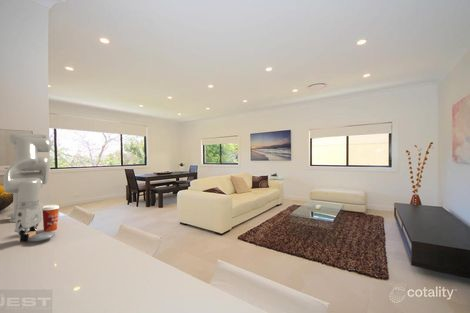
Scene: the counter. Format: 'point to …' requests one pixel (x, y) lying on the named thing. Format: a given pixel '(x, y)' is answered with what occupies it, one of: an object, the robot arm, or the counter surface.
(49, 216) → the paper cup
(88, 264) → the counter surface
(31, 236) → the gray paddle
